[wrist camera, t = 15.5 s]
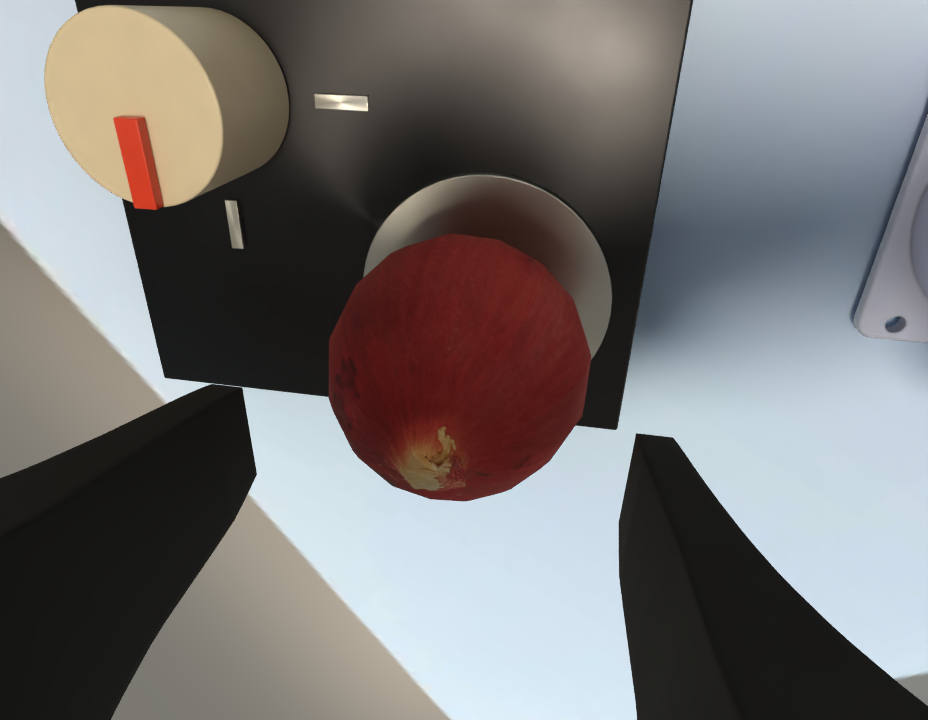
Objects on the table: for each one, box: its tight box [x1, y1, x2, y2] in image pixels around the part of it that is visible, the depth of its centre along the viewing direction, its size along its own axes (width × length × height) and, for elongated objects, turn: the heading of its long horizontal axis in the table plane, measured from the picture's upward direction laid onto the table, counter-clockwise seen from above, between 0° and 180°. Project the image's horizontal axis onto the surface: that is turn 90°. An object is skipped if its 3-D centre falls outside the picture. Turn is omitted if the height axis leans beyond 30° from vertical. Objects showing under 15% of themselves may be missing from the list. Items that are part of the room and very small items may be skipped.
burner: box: [363, 172, 612, 359], centre depth 18 cm, size 7×7×1 cm
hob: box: [75, 0, 693, 430], centre depth 18 cm, size 16×13×3 cm
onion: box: [329, 233, 591, 501], centre depth 14 cm, size 6×6×8 cm
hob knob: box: [45, 5, 289, 210], centre depth 15 cm, size 4×4×4 cm
